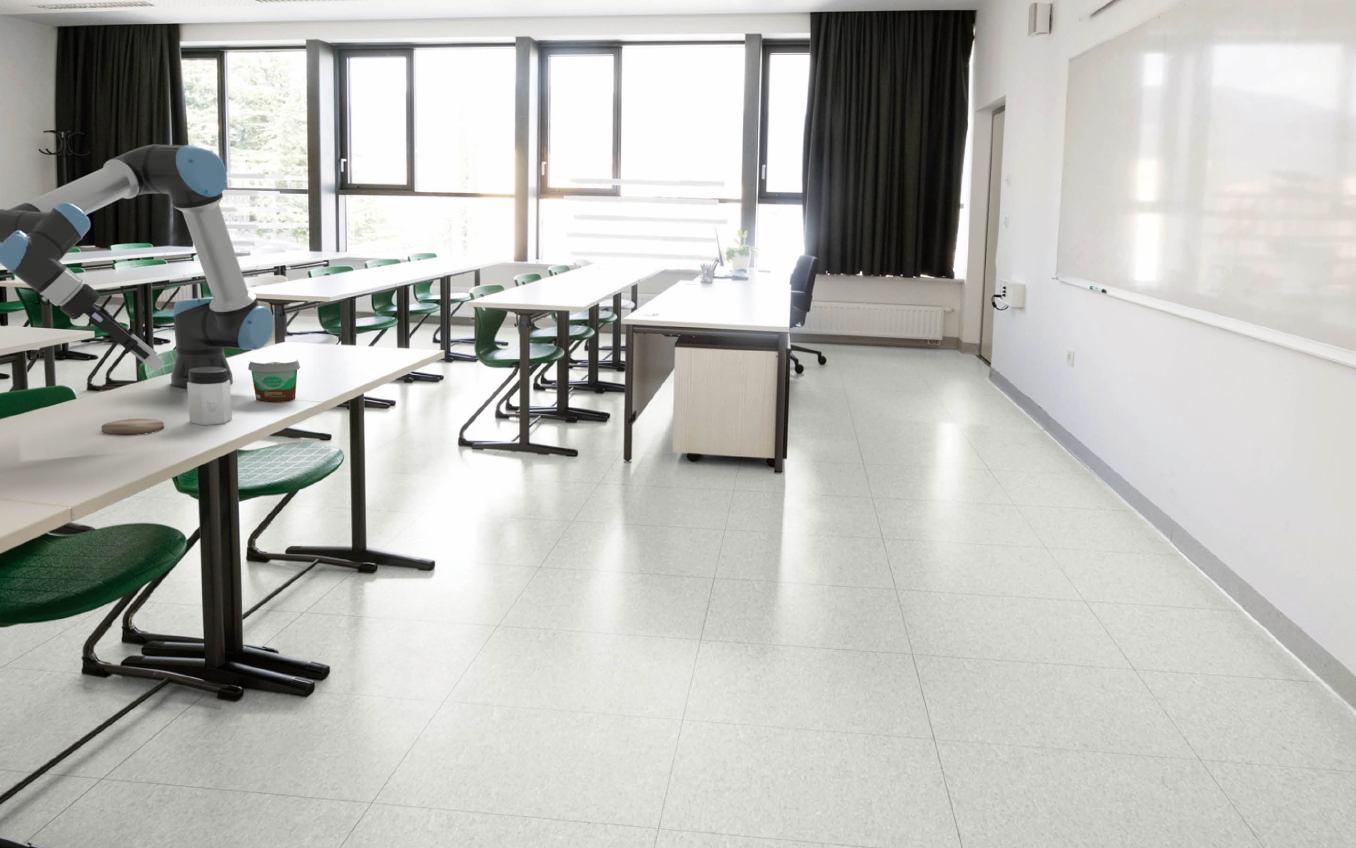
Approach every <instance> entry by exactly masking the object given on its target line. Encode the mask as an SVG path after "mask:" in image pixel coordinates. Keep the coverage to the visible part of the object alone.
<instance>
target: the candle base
mask: <svg viewBox="0 0 1356 848" xmlns="http://www.w3.org/2000/svg"><path fill="white" fill-rule="evenodd" d="M164 428H165V424H164V421H162V420H159V419H156V418H155V419H154V418H130V419H129V418H126V419H119V420H114V421H109V422H106V423H104V424H102V425H101V432H102V433H103V434H105V435H109V436H111V435H112V436H138V434H141V435H146V434H145V433H148V434H152V432H153V433H157V432H160V431H162V430H163V429H164ZM161 429H162V430H161ZM159 430H160V431H159ZM156 431H157V432H156Z"/></svg>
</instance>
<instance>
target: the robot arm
mask: <svg viewBox="0 0 1356 848" xmlns="http://www.w3.org/2000/svg"><path fill="white" fill-rule="evenodd" d="M227 178H228V176H227V171H226V167H225V163H223V161H222V159H221V157H219V155H218V154H217V153H216V152H215V151H213V150H211V149H210V148H207V147H205V146H200V145H199V146H198V145H195V144H185V145H182V144H149V145H144V146H141V147H137V148H135V149H132V150H130V151H127V152H124V153H123V154H120V155H119V156H116V157H113V158H111V159H109V160H107V161H106V162H105V163H103V167H102V168H100V169H98V170H95V171H94V172H91V173H89V174H87V175H84V176H83V177H80V178H78V179H75V180H73V181H71V182H68V183H66V184H64V185H62V186H60V187H58V188H56V189H53V190H51V191H49V192H46V193H44V194H42V195H39V196H37V197H35V198H32V199H31V200H29V201H26V202H24V203H21V204H19V205H16V206H14V207H11V208H9V209H4V208H0V264H1V265H2V266H3V267H4V268H6V270H8V272H10V273H12V275H14V276H16V277H17V278H19V279H20V280H21V281H23V282H24V283H25V284H27V285H28V286H29V287H31V288H32V289H33V290H34V291H36V292H37V293H38V294H39V295H41V296H42V297H41V300H42V301H44V302H46V301H48V300H49V302H50V303H51V304H53V305H54V306H56V307H58V306H59V309H60V311H61V312H62V313H64V314H65V315H66V316H68V317H69V318H70V319H72V320H75V321H76V320H77V319H79V318H80V317H82V316H83V315H84V314H85V315H86V316H87V317H88V321H89V324H91V325H93V326H94V327H96V328H98V329H100V331H102V332H103V333H105V334H108V336H110V337H111V338H112V339H114V340H115V341H116V342H117V343H118V344H120V346H122V347H123V348H124V350H123V352H124V353H126V354H129V353H131V354H132V355H134V356H135V357H136V358H137V359H139V360H140V361H141V362H142V363H144V364H145V365H146V366H148V368H150V369H151V370H152V371H154V372H157V371H158V370H159V369H160V368H161V367H162V366H163V365H164V364H165V363H166V362H165V361H164V360H162V359H161V358H160V357H159V356H158V352H157V351H156V350H154V349H153V348H152V347H151V346H149V345H148V343H147V344H146V343H145V342H144V340H142V339H140V338H139V337H138V336H136V335H135V334H134V332H135V330H134V329H133V328H131V327H129V328H127V327H125V326H124V325H122V324H121V323H120V322H119V321H117V320H116V318H115V316H114V315H112V314H111V313H110V312H109V311H108V310H107V309H106V308H105V307H103V306H101V307H99V306H98V305H97V304H95V303H97V302H98V300H99V299H100V293H99V292H98V291H96V289H94V288H93V287H91V285H89V283H88V284H87V283H83V279H82V278H81V277H79V276H78V275H77V274H76V273H75V272H73V271H72V270H71V269H70V268H69V267H67V266H66V265H64V264H63V263H62V262H61V259H63V258H64V256H65V255H67V254H68V253H69V252H70V251H71V250H72V248H74V247H75V246H76V245H77V244H78V243H79V242H80V241H82V240H83V237H84V236H85V235H86V234H87V233H88V231H90V228H91V221H90V218H89V217H88V216H87V215H89V214H91V213H93V212H95V211H98V210H99V209H102V208H103V207H106V206H108V205H110V204H112V203H114V202H116V201H119V200H120V199H125V200H126V199H127V200H129V199H133V198H135V197H137V196H140V195H146V194H162V195H168V196H169V199H170V201H171V204H172V206H173V208H175V209H176V210H179V211H180V212H182V215H183V217H184V220H185V223H186V225H187V226H186V227H187V228H188V231H189V235H190V237H191V240H192V243H193V246H194V248H195V251H196V254H197V257H198V259H199V263H200V266H201V268H202V271H203V273H204V277H205V280H206V283H207V285H208V288H209V290H210V294H211V297H210V296H209V297H200V298H199V297H198V298H189V299H179V300H177V301H176V302H175V303H174V305H173V315H172V316H173V327H174V339H175V349H176V351H175V352H176V357H175V360H174V364H173V368H172V370H171V371H172V372H171V375H170V382H171V385H172V386H174V387H179V388H187V382H189V374H188V371H189V370H190V369H193V368H200V367H222V368H226V369H227V370H228V380H230V384H233V381H234V379H233V372H232V370H231V368H230V364H229V363H228V360H227V357H226V355H225V348H227V349H228V348H231V349H241V350H242V351H243V350H244V351H247V350H248V351H249V350H252V351H253V350H254V351H255V350H260V349H262V348H263V347H264V346H266V345H267V344H268V342H269V341H270V340H271V337H272V334H273V331H274V324H275V321H274V317H273V316H274V315H273V312H272V311H271V310H270V309H269V308H267V307H266V306H263V305H259V301H258V299H257V295H256V294H255V293H254V292H252V291H251V290H248V288H247V285H246V282H245V277H244V275H243V273H242V270H241V267H240V263H239V260H238V258H237V254H236V252H235V248H234V246H233V243H232V239H231V236H230V234H229V230H228V228H227V224H226V221H225V218H224V215H223V212H222V210H221V206H220V202H221V200H222V199H223V197H224V196H223V192H224V190H225V188H226V186H227V182H226V180H227Z"/></svg>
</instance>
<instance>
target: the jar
mask: <svg viewBox="0 0 1356 848" xmlns="http://www.w3.org/2000/svg"><path fill="white" fill-rule="evenodd" d="M188 374H189V382H187V387H186V388H187V389H186V390H187V399H188V416H189V423H191V424H194V425H199V426H212V425H224V424H227V423H228V422H230V421H232V419H233V413H232V412H233V410H232V409H233V407H232V393H231V390H232V389H231V383H230V380H228V370H227V369H226V368H222V367H200V368H193V369H190V370H189V371H188Z"/></svg>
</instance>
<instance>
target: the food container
mask: <svg viewBox="0 0 1356 848" xmlns="http://www.w3.org/2000/svg"><path fill="white" fill-rule="evenodd" d="M247 369H248V370H249V371H251V377H252V383H253V388H254V394H255V400H256V401H257V402H261V403H269V404H270V403H273V404H275V403H277V404H278V403H286V402H287V401H288V402H292V401H294V400H295V399H296V395H297V394H296V393H297V392H296V391H297V380H298V379H297V377H298V370H299V369H301V365H300V362H299V361H298V359H296V360H295V361H291V362H279V361H278V362H277V361H275V362H274V361H273V362H272V361H271V362H267V363H260V362H253V361H251V360H249V363H248V368H247ZM291 400H292V401H291Z"/></svg>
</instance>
